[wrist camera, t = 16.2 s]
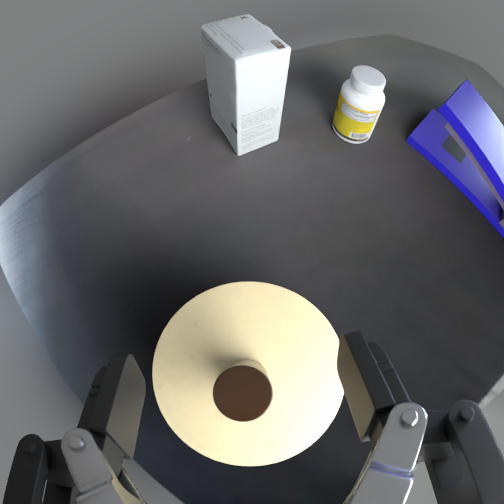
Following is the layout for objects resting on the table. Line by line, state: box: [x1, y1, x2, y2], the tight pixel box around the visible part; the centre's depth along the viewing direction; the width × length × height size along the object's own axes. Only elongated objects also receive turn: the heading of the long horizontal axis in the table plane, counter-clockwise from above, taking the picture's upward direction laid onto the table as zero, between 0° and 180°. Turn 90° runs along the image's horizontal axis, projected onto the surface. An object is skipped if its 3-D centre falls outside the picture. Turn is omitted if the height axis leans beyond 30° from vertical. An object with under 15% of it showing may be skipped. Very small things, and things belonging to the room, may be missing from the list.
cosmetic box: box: [200, 14, 291, 156], centre depth 29 cm, size 8×6×15 cm
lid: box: [152, 281, 344, 466], centre depth 16 cm, size 13×13×9 cm
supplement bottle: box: [332, 66, 386, 144], centre depth 32 cm, size 5×5×10 cm
